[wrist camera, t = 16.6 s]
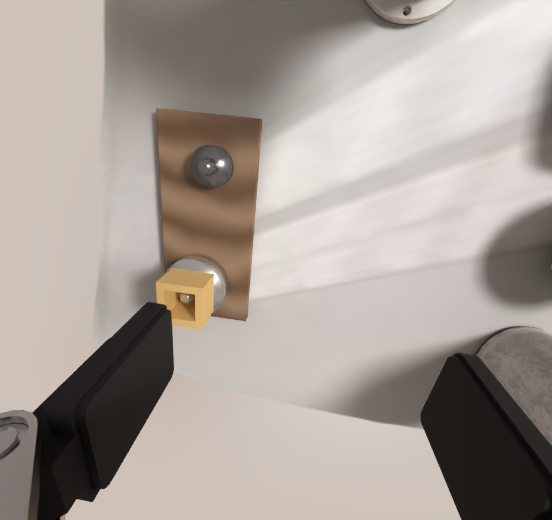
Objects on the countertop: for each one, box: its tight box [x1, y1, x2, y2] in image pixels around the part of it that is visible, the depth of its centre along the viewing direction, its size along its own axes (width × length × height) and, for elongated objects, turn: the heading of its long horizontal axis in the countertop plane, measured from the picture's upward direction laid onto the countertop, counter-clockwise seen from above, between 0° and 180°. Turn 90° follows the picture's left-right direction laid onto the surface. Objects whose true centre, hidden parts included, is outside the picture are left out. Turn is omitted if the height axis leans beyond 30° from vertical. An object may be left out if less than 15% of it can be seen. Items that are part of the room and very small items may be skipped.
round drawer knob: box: [190, 145, 234, 188], centre depth 33 cm, size 5×5×4 cm
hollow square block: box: [156, 268, 214, 329], centre depth 36 cm, size 6×6×4 cm
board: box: [156, 108, 262, 321], centre depth 39 cm, size 29×13×2 cm, turn 174°
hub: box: [164, 254, 229, 313], centre depth 38 cm, size 9×9×6 cm
